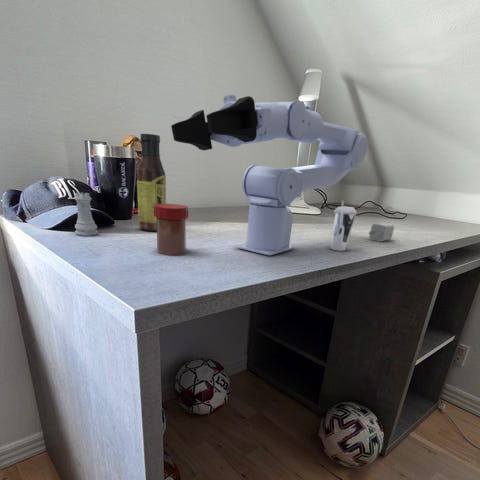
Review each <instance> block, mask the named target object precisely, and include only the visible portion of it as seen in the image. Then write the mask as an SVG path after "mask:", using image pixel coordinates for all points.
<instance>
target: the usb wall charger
mask: <svg viewBox="0 0 480 480" xmlns="http://www.w3.org/2000/svg"><path fill="white" fill-rule="evenodd" d="M394 230H395V225H394V224H390V223H385V222H379V223H373V224H372V225H371V227H370V230H369V231H368V235H369V239H370V240H372V241H377V242H385V241H391V240H392V237H393V235H394Z"/></svg>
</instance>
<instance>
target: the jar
mask: <svg viewBox="0 0 480 480" xmlns="http://www.w3.org/2000/svg"><path fill="white" fill-rule="evenodd" d="M156 222H157V231H156V252H157V253H158V254H161V255H164V256H165V255H167V256H181V255H183V254H186V253H187V219H183V220H167V219H160V218H156Z"/></svg>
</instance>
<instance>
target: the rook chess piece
mask: <svg viewBox="0 0 480 480" xmlns="http://www.w3.org/2000/svg"><path fill="white" fill-rule="evenodd" d="M74 194H75V195H74V197H73V199H74V200H75V202H76V208H77V219H76V224H74V228H75V230H74V233H75V234H76V235H77V236H81V237H91V236H93V237H94V236H96V235H98V233H99V231H98V230H97V229H98V226H97V224H96V223H95V220H94V219H93V215H92V210H91V209H92V205H91V201H92V197H91V196H90V193H88V192H75V193H74Z"/></svg>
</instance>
